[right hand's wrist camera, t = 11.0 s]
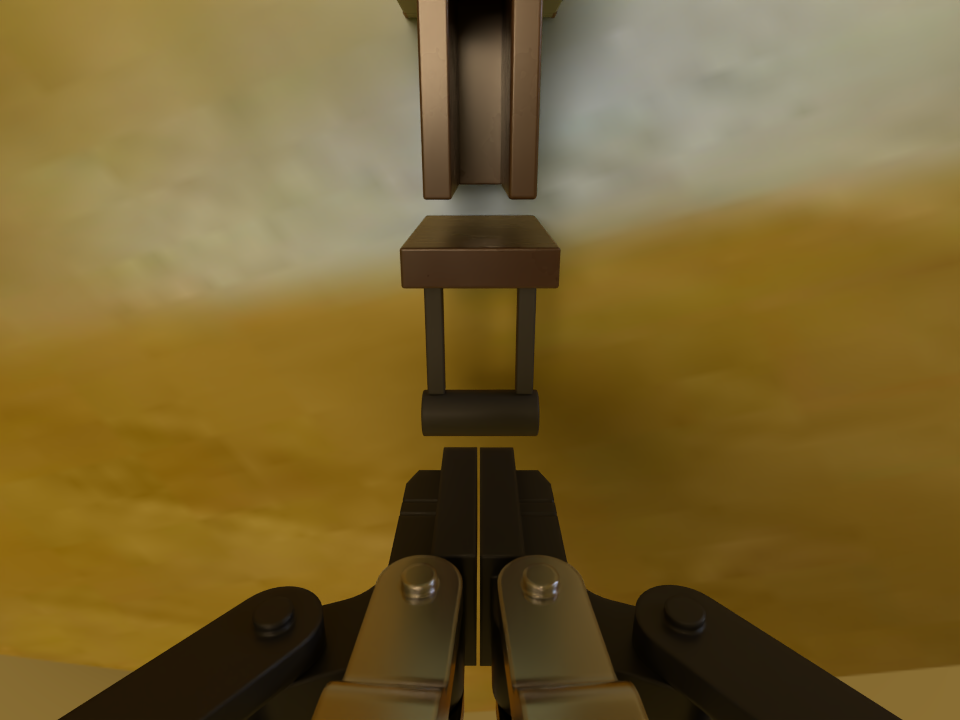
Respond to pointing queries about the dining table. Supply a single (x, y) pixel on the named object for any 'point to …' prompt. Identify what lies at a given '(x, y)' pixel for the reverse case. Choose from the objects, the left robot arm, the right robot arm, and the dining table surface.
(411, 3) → the cabinet
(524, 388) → the drawer
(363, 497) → the dining table surface
